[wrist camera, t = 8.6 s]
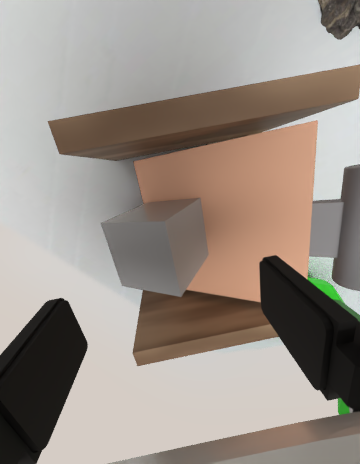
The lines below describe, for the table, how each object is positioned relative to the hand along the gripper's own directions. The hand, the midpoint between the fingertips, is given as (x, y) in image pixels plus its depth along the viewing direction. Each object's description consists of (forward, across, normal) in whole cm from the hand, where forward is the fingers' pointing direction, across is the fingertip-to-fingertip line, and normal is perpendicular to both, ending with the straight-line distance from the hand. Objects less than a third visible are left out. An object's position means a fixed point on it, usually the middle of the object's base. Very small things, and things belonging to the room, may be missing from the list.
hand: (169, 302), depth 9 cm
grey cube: (+10, -1, 0) cm, 10 cm away
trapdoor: (+8, -7, 0) cm, 11 cm away
